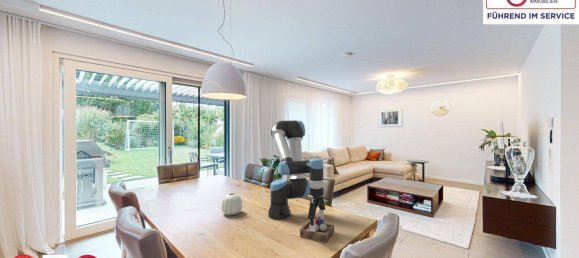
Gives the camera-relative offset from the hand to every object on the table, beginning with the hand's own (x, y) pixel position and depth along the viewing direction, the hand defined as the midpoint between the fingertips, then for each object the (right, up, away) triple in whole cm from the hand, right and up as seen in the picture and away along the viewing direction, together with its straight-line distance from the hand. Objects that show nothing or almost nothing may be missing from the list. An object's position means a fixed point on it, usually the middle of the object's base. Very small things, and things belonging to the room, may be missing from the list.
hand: (317, 226), depth 128 cm
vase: (-55, -6, +35) cm, 65 cm away
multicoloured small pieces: (0, -2, 0) cm, 2 cm away
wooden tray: (0, -5, 0) cm, 5 cm away
